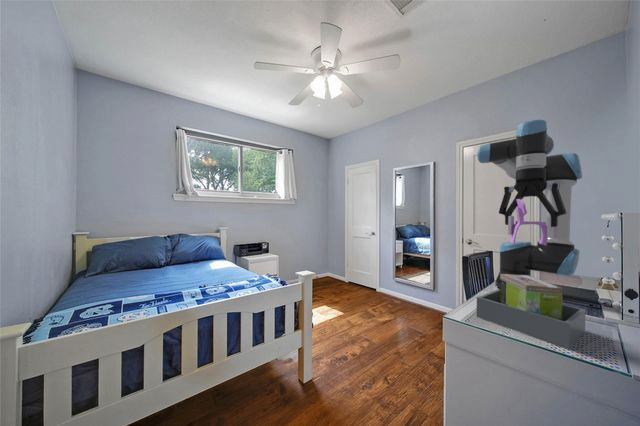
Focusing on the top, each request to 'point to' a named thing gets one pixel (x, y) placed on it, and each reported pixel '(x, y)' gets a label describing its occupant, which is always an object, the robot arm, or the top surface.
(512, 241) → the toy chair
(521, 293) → the tea box
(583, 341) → the top surface
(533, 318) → the crate
